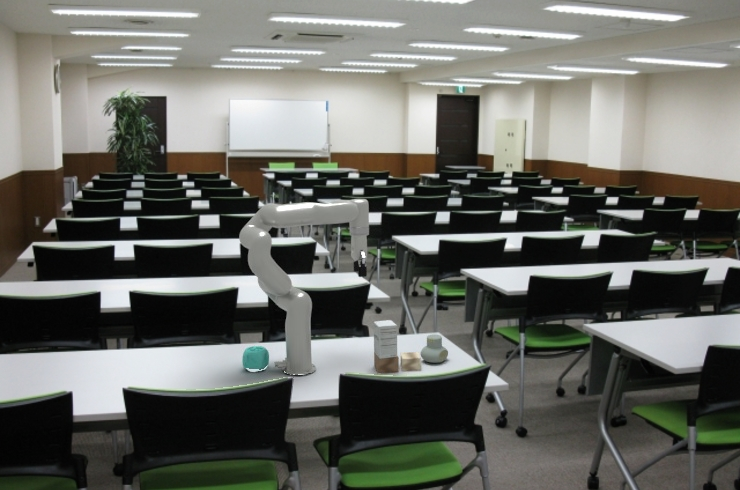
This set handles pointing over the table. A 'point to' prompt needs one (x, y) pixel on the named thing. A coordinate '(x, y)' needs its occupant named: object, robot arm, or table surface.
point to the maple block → (410, 361)
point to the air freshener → (434, 350)
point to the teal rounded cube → (255, 357)
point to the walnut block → (386, 364)
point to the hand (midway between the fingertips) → (360, 273)
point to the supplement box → (385, 339)
